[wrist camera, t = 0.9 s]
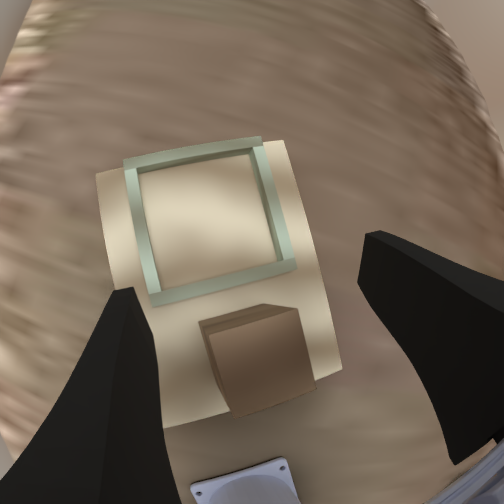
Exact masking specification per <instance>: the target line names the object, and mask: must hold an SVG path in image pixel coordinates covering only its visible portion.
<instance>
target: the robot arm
mask: <svg viewBox="0 0 504 504" xmlns="http://www.w3.org/2000/svg"><path fill="white" fill-rule="evenodd" d="M357 283H358V285H359V287H360V289H361V291H362V292H363V294H364V296H365V298H366V300H367V301H368V303H369V305H370V306H371V308H372V309H373V311H374V312H375V313H376V315H377V316H378V317H379V319H380V320H381V321H382V323H383V324H384V325H385V327H386V328H387V329H388V331H389V332H390V333H391V335H392V336H393V337H394V339H395V340H396V341H397V343H398V344H399V345H400V347H401V348H402V349H403V351H404V352H405V354H406V355H407V357H408V358H409V360H410V361H411V363H412V364H413V366H414V368H415V370H416V372H417V374H418V375H419V377H420V379H421V381H422V383H423V385H424V387H425V389H426V391H427V393H428V396H429V398H430V400H431V402H432V404H433V407H434V409H435V412H436V415H437V417H438V420H439V422H440V425H441V428H442V431H443V435H444V438H445V442H446V445H447V449H448V453H449V457H450V459H451V460H452V462H453V464H454V465H457V464H459V463H460V462H462V461H463V460H465V459H466V458H467V457H469V456H470V455H472V454H473V453H475V452H476V451H477V450H479V449H480V448H481V447H483V446H484V445H485V444H487V443H488V442H489V441H490V440H491V439H492V438H493V439H494V440H495V442H496V443H497V445H496V446H495V447H494V448H493V449H492V450H491V451H490V452H489V453H488V454H487V455H486V456H484V457H483V458H482V459H481V460H480V461H479V462H478V463H477V464H475V465H474V466H473V467H472V468H471V469H469V470H468V471H467V472H466V473H465V474H463V475H462V476H461V477H460V478H458V479H457V480H456V481H454V482H453V483H452V484H450V485H449V486H448V487H446V488H445V489H444V490H442V491H441V492H439V493H438V494H437V495H435V496H434V497H432V498H431V499H429V500H428V501H426V502H425V503H423V504H504V281H502V280H498V279H496V278H493V277H490V276H487V275H485V274H482V273H479V272H477V271H474V270H472V269H469V268H467V267H465V266H462V265H460V264H458V263H455V262H453V261H451V260H448V259H446V258H444V257H442V256H440V255H437V254H435V253H433V252H431V251H429V250H427V249H424V248H422V247H420V246H418V245H416V244H414V243H411V242H409V241H407V240H405V239H402V238H400V237H397V236H395V235H392V234H390V233H387V232H384V231H381V230H379V231H375V232H371V233H366V234H365V240H364V246H363V252H362V258H361V264H360V270H359V276H358V281H357ZM281 466H284V467H283V468H281V469H280V467H281ZM496 473H497V475H496V476H495V477H493V476H494V475H495V474H496ZM492 477H493V478H492ZM491 478H492V479H491ZM190 489H191V492H192V494H193V496H194V498H195V500H196V501H197V503H198V504H301V503H300V501H299V500H298V496H297V493H296V490H295V486H294V483H293V480H292V477H291V473H290V470H289V467H288V463H287V461H286V459H285V458H283V457H280V458H277V459H274V460H271V461H269V462H266V463H263V464H260V465H257V466H254V467H251V468H248V469H245V470H242V471H238V472H235V473H232V474H228V475H225V476H221V477H217V478H214V479H210V480H206V481H202V482H197V483H194V484H192V485H191V486H190ZM196 492H201V493H196ZM0 504H182V503H181V500H180V497H179V494H178V491H177V487H176V484H175V481H174V477H173V473H172V470H171V466H170V462H169V458H168V454H167V449H166V445H165V439H164V432H163V423H162V412H161V400H160V385H159V370H158V361H157V355H156V348H155V342H154V336H153V333H152V331H151V328H150V326H149V324H148V321H147V319H146V317H145V314H144V312H143V309H142V307H141V305H140V302H139V300H138V297H137V294H136V292H135V289H134V287H128V288H124V289H119V290H114V291H113V292H112V294H111V296H110V298H109V300H108V302H107V304H106V306H105V308H104V310H103V312H102V314H101V316H100V318H99V320H98V323H97V325H96V327H95V329H94V331H93V333H92V335H91V337H90V339H89V341H88V343H87V345H86V347H85V349H84V351H83V353H82V355H81V357H80V359H79V361H78V363H77V365H76V367H75V369H74V371H73V372H72V374H71V376H70V378H69V380H68V382H67V384H66V386H65V387H64V389H63V391H62V393H61V395H60V396H59V398H58V400H57V401H56V403H55V405H54V406H53V408H52V410H51V411H50V413H49V415H48V416H47V418H46V419H45V421H44V422H43V423H42V425H41V426H40V428H39V429H38V431H37V432H36V434H35V435H34V437H33V438H32V440H31V441H30V443H29V444H28V446H27V447H26V448H25V450H24V451H23V452H22V454H21V455H20V457H19V458H18V459H17V461H16V462H15V463H14V464H13V466H12V467H11V468H10V470H9V471H8V472H7V473H6V474H5V476H4V477H3V478H2V479H1V480H0Z"/></svg>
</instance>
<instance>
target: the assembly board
mask: <svg viewBox="0 0 504 504" xmlns="http://www.w3.org/2000/svg"><path fill="white" fill-rule="evenodd" d="M123 165H124V167H121V168H117V169H113V170H109V171H105V172H101V173H98V174H95V176H96V184H97V192H98V200H99V207H100V214H101V220H102V226H103V232H104V238H105V243H106V248H107V254H108V259H109V263H110V268H111V273H112V277H113V282H114V286H115V290H119V289H124V288H128V287H134V289H135V292H136V294H137V297H138V300H139V302H140V305H141V307H142V309H143V312H144V314H145V317H146V319H147V321H148V324H149V326H150V328H151V331H152V333H153V336H154V342H155V348H156V355H157V361H158V370H159V385H160V400H161V412H162V423H163V428H167V427H172V426H176V425H180V424H185V423H189V422H193V421H196V420H200V419H204V418H208V417H211V416H215V415H218V414H222V413H225V412H229V411H230V410H229V408H228V406H227V404H226V402H225V400H224V398H223V396H222V394H221V392H220V390H219V388H218V386H217V383H216V380H215V377H214V374H213V371H212V367H211V364H210V361H209V358H208V354H207V351H206V347H205V344H204V341H203V337H202V334H201V330H200V327H199V323H198V321H201V320H205V319H209V318H212V317H216V316H220V315H223V314H227V313H230V312H234V311H238V310H241V309H245V308H248V307H252V306H255V305H259V304H262V303H265V304H271V305H278V306H285V307H292V308H298V311H299V315H300V320H301V324H302V328H303V332H304V336H305V340H306V344H307V349H308V353H309V357H310V361H311V366H312V370H313V374H314V379H315V381H316V380H318V379H320V378H323V377H325V376H327V375H330V374H332V373H334V372H337V371H339V370H341V369H342V364H341V359H340V354H339V349H338V345H337V340H336V335H335V331H334V326H333V322H332V317H331V313H330V309H329V304H328V300H327V296H326V292H325V288H324V283H323V279H322V275H321V271H320V267H319V263H318V259H317V256H316V252H315V248H314V244H313V240H312V237H311V233H310V229H309V226H308V222H307V218H306V215H305V211H304V208H303V204H302V201H301V197H300V194H299V190H298V187H297V184H296V180H295V177H294V174H293V170H292V167H291V164H290V161H289V157H288V154H287V151H286V148H285V145H284V142H283V140H280V141H270V142H262V139H261V136H256V137H247V138H239V139H232V140H225V141H218V142H211V143H205V144H199V145H193V146H187V147H181V148H176V149H171V150H166V151H161V152H156V153H151V154H146V155H142V156H137V157H133V158H128V159H124V160H123Z"/></svg>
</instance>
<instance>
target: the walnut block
mask: <svg viewBox="0 0 504 504" xmlns="http://www.w3.org/2000/svg"><path fill="white" fill-rule="evenodd" d="M198 323H199V327H200V330H201V334H202V337H203V341H204V344H205V347H206V351H207V354H208V358H209V361H210V364H211V367H212V371H213V374H214V377H215V380H216V383H217V386H218V388H219V390H220V392H221V394H222V396H223V398H224V400H225V402H226V404H227V406H228V408H229V410H230V412H231V413H232V415H233V417H234V419H236V418H240V417H243V416H246V415H249V414H252V413H255V412H258V411H261V410H264V409H267V408H270V407H272V406H275V405H278V404H281V403H283V402H286V401H289V400H291V399H294V398H296V397H299V396H301V395H304V394H306V393H309V392H311V391H314V390H316V389H317V388H316V383H315V379H314V374H313V370H312V366H311V361H310V357H309V353H308V349H307V344H306V340H305V336H304V332H303V328H302V324H301V320H300V315H299V311H298V308H292V307H285V306H278V305H271V304H265V303H262V304H259V305H255V306H252V307H248V308H245V309H241V310H238V311H234V312H230V313H227V314H223V315H220V316H216V317H212V318H209V319H205V320H201V321H198Z"/></svg>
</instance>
